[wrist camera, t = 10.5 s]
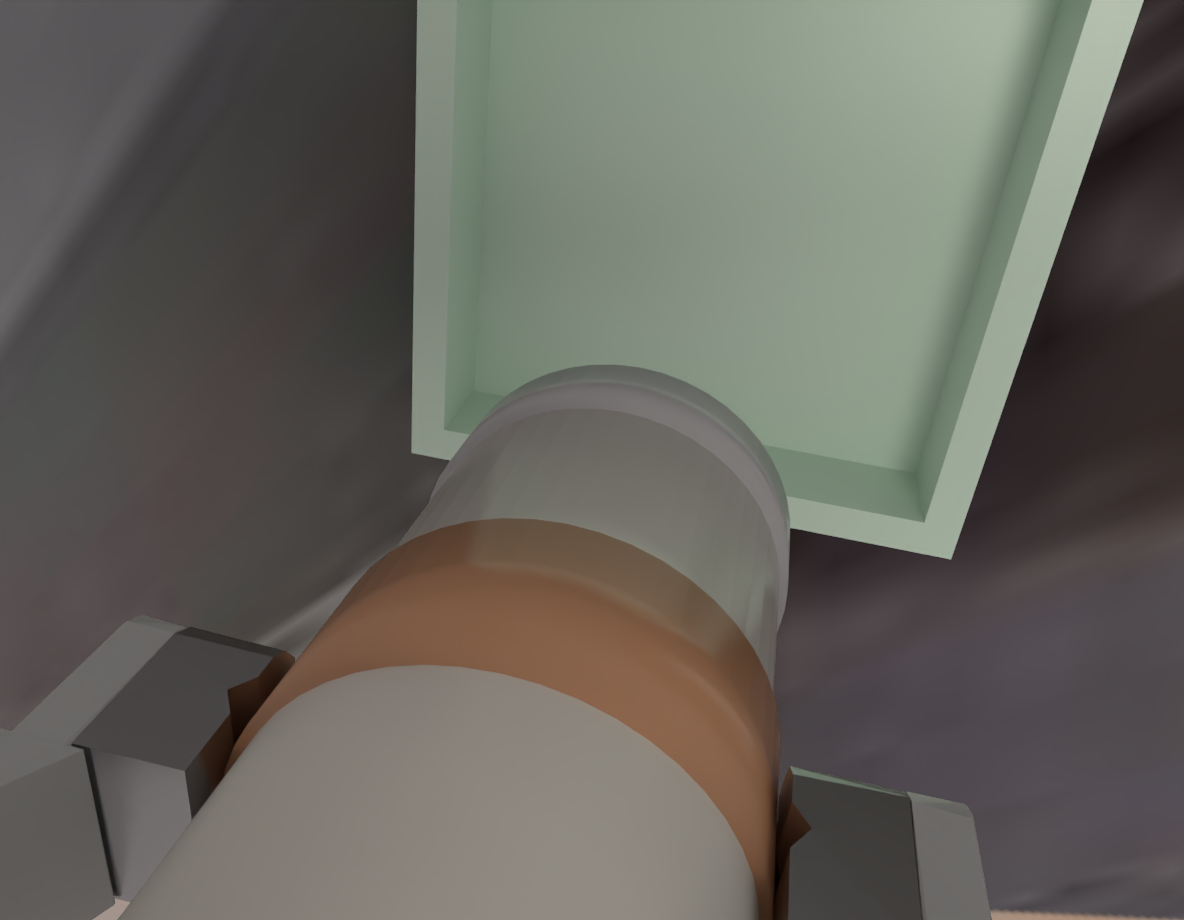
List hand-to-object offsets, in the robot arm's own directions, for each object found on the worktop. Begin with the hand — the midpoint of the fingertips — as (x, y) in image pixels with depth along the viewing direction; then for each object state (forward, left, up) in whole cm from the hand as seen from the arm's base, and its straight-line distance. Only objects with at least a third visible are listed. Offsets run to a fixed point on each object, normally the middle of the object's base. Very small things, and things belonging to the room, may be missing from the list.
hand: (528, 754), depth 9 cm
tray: (0, 0, -22) cm, 22 cm away
